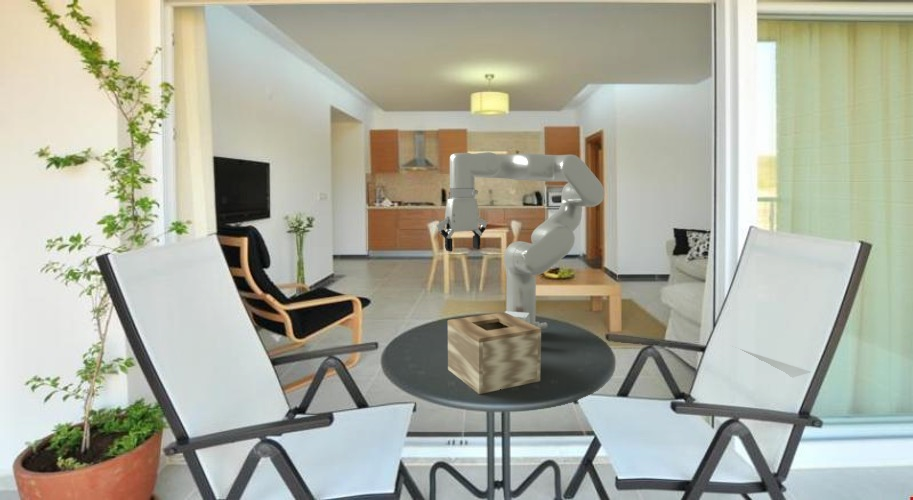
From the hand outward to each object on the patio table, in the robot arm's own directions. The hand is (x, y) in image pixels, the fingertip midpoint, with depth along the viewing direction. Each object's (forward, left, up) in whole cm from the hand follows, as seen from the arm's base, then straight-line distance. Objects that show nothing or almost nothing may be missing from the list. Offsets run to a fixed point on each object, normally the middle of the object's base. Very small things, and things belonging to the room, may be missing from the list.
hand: (462, 249), depth 157 cm
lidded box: (+5, +27, -30) cm, 41 cm away
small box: (-13, +10, -31) cm, 35 cm away
